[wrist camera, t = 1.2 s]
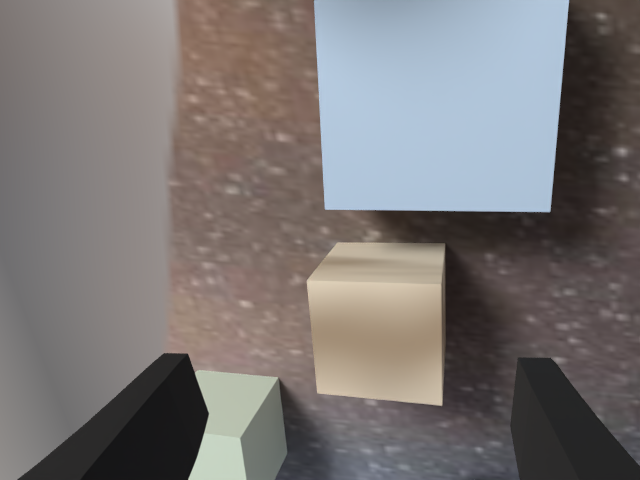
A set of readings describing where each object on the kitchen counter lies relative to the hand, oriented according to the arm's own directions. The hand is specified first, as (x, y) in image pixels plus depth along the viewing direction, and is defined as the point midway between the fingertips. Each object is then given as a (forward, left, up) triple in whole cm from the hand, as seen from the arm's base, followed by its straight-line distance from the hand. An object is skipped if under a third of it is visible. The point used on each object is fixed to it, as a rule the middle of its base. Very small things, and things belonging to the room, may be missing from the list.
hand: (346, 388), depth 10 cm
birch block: (-2, 0, -10) cm, 10 cm away
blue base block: (+6, -2, -10) cm, 12 cm away
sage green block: (-9, +8, -10) cm, 16 cm away
